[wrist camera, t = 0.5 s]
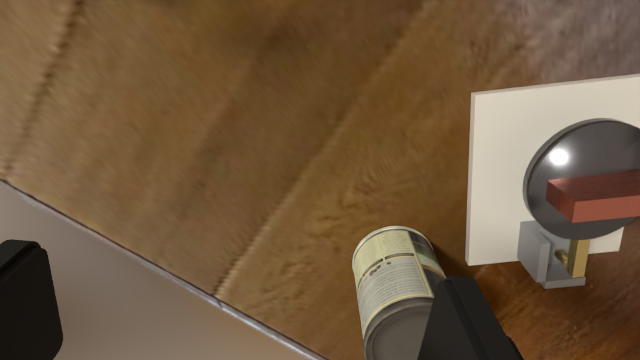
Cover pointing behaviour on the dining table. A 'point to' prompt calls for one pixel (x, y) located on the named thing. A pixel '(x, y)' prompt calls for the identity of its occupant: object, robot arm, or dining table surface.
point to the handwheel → (585, 185)
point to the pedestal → (513, 159)
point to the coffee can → (395, 291)
